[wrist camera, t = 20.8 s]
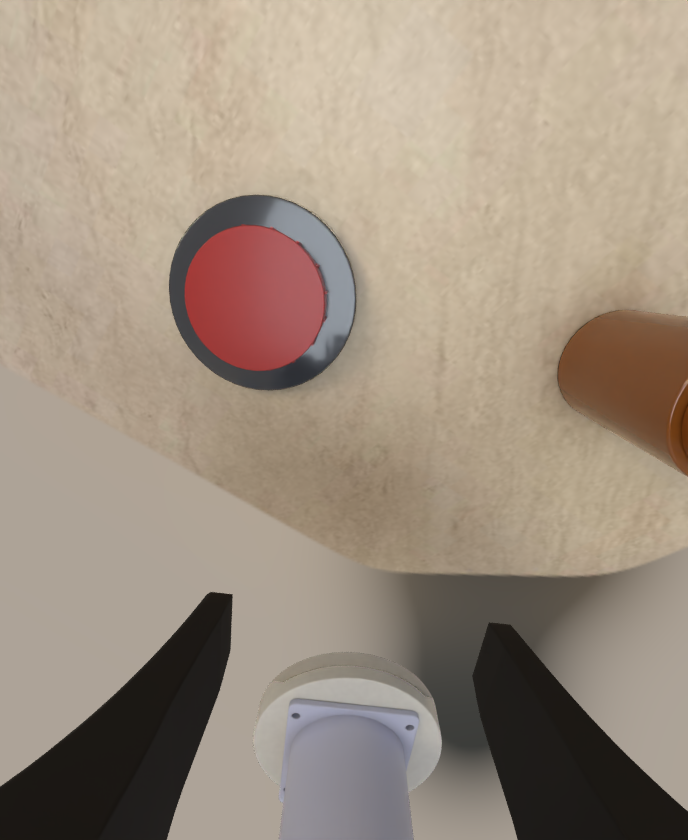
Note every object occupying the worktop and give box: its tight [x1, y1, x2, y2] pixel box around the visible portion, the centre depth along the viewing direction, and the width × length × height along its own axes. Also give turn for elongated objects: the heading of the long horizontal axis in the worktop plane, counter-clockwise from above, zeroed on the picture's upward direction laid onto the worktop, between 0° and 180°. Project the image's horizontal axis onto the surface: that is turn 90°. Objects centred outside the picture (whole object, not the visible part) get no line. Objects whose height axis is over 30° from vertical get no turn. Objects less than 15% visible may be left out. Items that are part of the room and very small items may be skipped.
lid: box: [185, 224, 328, 371], centre depth 17 cm, size 6×6×2 cm
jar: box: [558, 310, 688, 477], centre depth 15 cm, size 5×5×8 cm
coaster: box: [169, 195, 356, 390], centre depth 18 cm, size 8×8×1 cm
